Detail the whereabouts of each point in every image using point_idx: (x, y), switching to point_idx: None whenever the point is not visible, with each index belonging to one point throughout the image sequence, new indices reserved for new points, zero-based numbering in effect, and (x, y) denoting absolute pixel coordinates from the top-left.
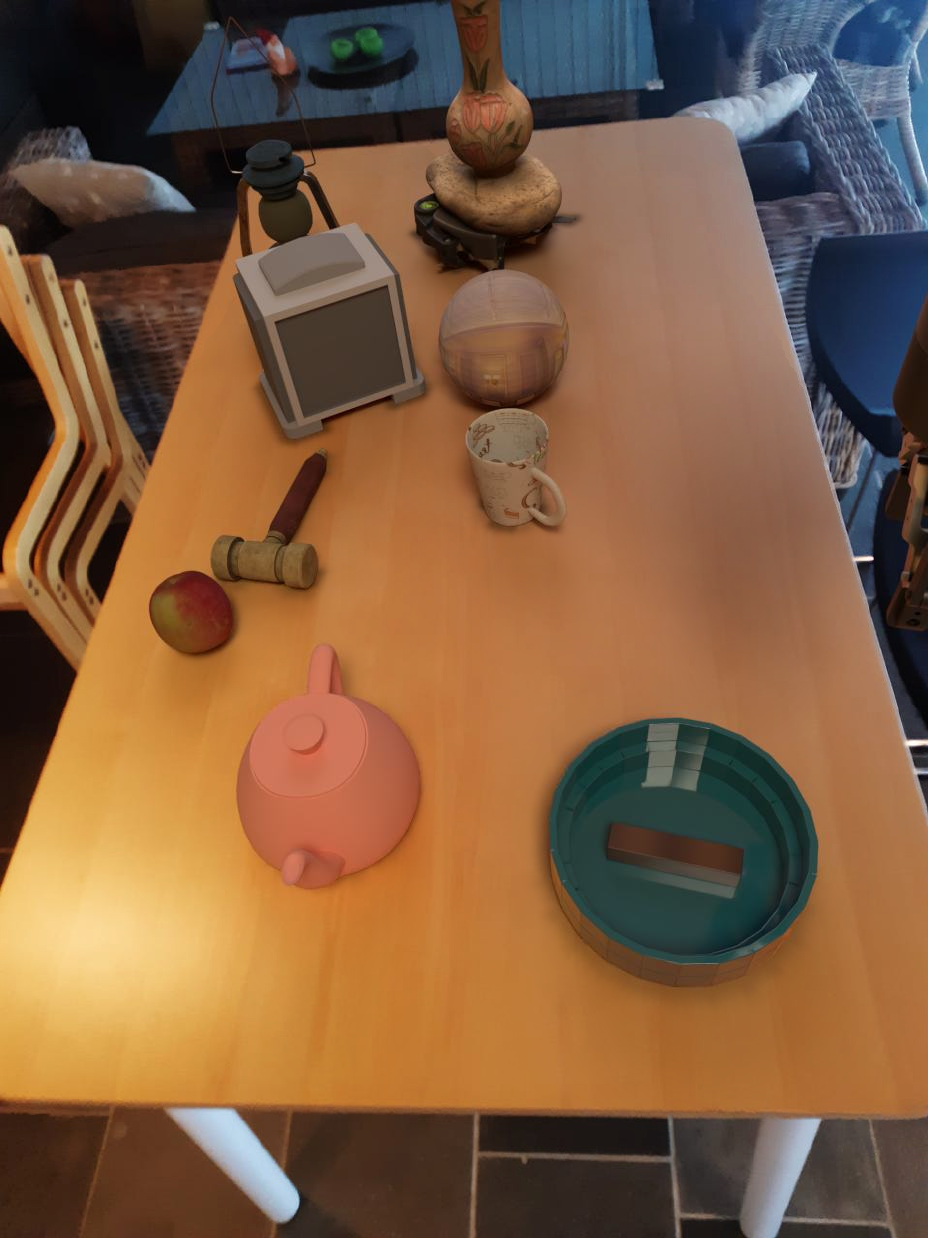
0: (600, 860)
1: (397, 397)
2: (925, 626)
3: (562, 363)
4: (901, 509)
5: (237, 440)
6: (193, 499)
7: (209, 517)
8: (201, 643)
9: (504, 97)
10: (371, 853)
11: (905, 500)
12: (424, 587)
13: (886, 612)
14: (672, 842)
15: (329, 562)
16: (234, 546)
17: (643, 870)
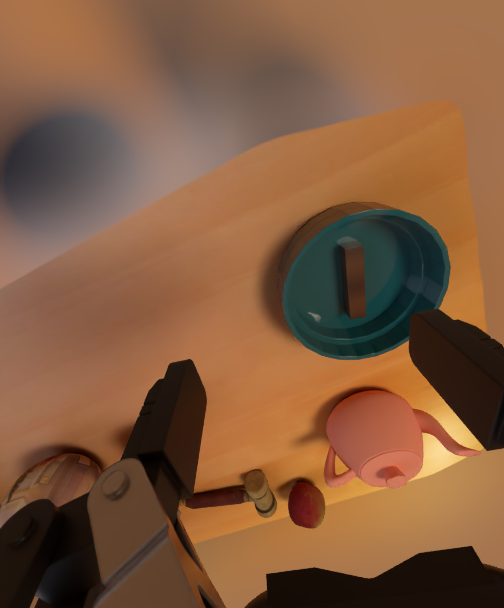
0: None
1: None
2: (481, 331)
3: (45, 468)
4: (198, 401)
5: (194, 524)
6: (235, 519)
7: (241, 511)
8: (319, 495)
9: None
10: (404, 404)
11: (194, 418)
12: (234, 435)
13: (415, 364)
14: (353, 287)
15: (241, 469)
16: (264, 510)
17: None
